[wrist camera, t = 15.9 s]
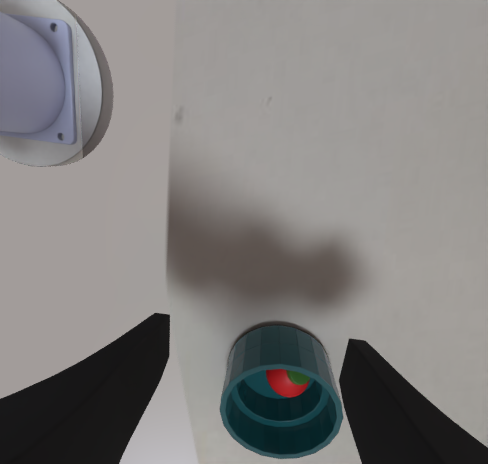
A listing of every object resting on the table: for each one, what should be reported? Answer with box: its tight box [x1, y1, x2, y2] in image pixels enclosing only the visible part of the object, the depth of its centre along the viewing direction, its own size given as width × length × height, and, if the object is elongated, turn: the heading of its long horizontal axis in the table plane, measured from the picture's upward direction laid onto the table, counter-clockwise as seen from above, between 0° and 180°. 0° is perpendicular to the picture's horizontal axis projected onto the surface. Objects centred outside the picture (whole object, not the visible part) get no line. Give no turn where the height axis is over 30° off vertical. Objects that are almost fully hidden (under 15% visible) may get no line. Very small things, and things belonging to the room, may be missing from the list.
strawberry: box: [266, 369, 310, 397], centre depth 19 cm, size 3×3×4 cm
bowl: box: [220, 325, 343, 459], centre depth 20 cm, size 8×8×4 cm
